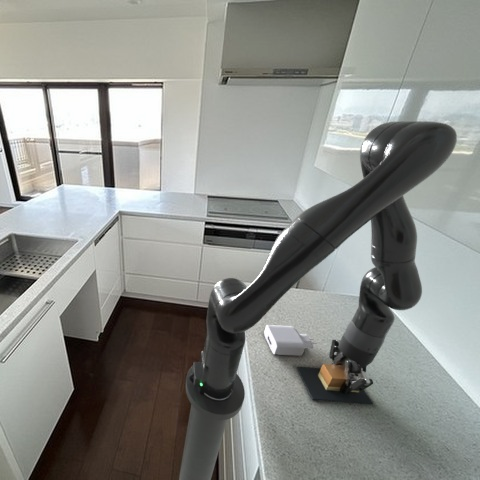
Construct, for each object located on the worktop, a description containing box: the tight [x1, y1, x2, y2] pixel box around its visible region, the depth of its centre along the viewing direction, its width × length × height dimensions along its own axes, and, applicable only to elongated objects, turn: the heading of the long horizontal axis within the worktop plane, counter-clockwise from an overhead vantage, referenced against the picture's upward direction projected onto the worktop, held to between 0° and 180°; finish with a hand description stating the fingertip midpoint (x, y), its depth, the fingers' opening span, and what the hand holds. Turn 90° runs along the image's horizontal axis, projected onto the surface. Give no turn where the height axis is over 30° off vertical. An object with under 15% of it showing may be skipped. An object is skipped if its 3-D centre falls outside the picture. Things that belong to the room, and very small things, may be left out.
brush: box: [318, 363, 359, 392], centre depth 72 cm, size 9×4×5 cm, turn 88°
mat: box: [296, 365, 374, 405], centre depth 73 cm, size 16×10×1 cm, turn 87°
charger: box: [263, 324, 317, 356], centre depth 84 cm, size 5×9×15 cm
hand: (338, 383), depth 73 cm, fingers closed on brush, 4 cm apart
